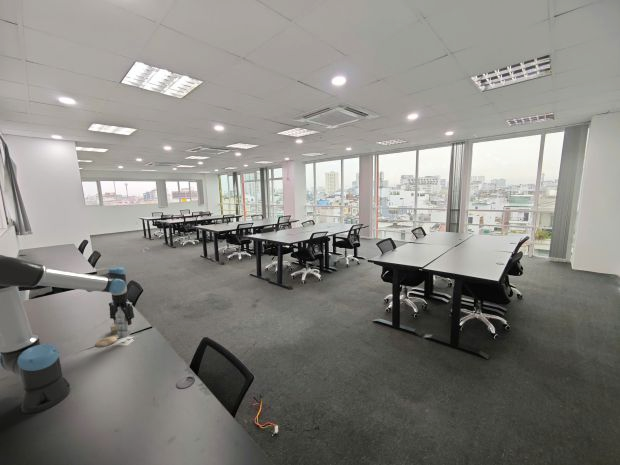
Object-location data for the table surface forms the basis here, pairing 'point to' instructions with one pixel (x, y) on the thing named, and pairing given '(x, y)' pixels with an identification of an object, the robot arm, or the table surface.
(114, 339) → the cork coaster
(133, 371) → the table surface
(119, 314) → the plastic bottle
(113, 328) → the oak block
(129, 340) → the card
